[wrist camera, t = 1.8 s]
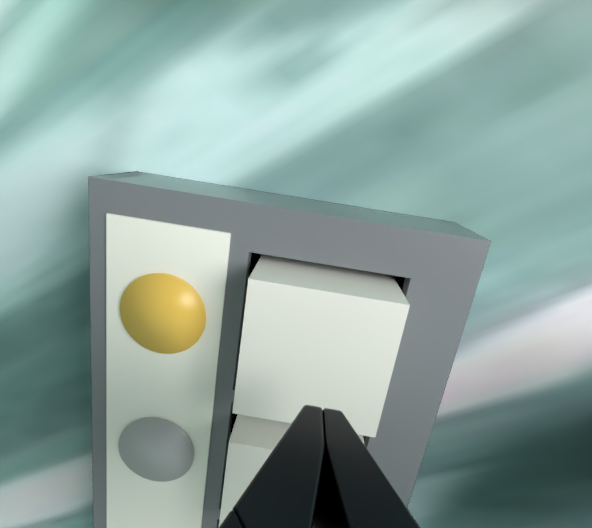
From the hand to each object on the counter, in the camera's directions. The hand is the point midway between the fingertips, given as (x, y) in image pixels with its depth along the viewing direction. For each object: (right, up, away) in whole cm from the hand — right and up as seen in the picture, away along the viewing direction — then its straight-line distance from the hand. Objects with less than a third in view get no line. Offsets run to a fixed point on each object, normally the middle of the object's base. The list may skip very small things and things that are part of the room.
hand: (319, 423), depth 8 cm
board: (-2, -3, +8) cm, 9 cm away
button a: (0, +1, +5) cm, 5 cm away
